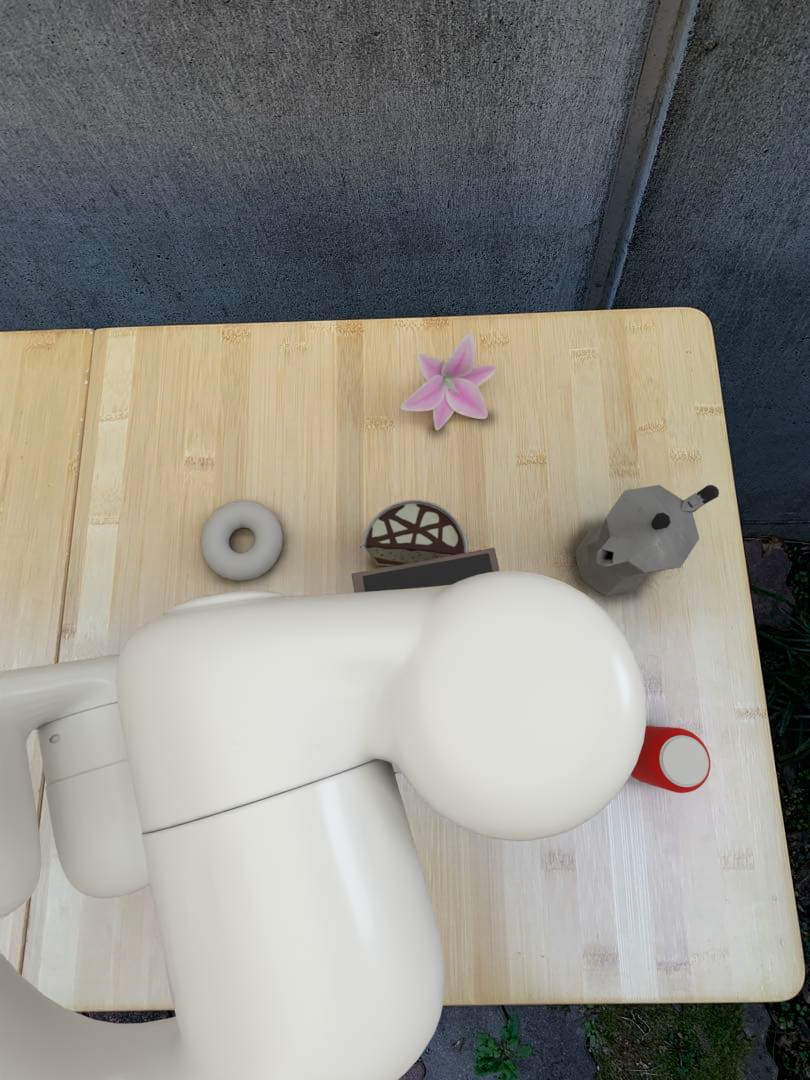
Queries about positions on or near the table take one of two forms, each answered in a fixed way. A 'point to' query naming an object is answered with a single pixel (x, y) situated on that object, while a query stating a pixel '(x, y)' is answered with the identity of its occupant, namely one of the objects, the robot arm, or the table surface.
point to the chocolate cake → (413, 534)
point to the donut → (252, 560)
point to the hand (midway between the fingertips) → (457, 706)
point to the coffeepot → (640, 538)
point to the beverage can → (672, 760)
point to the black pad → (429, 574)
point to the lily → (451, 385)
